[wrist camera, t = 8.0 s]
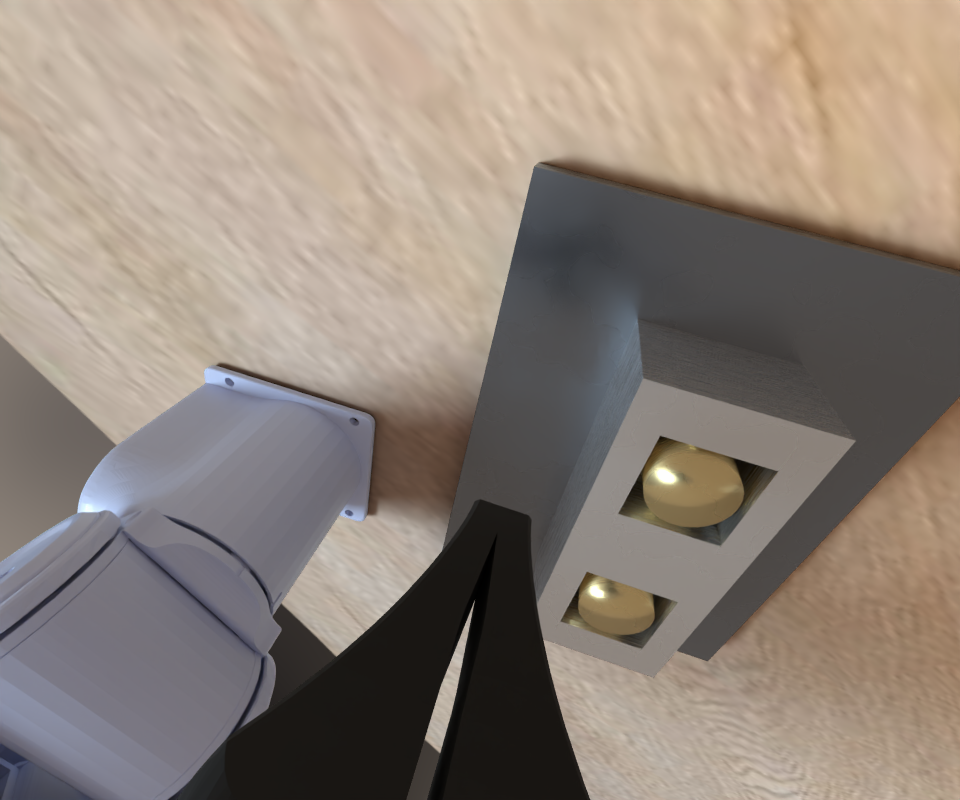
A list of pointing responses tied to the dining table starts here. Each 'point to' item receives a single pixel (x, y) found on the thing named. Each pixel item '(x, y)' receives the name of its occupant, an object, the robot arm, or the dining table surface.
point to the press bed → (710, 314)
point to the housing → (652, 541)
